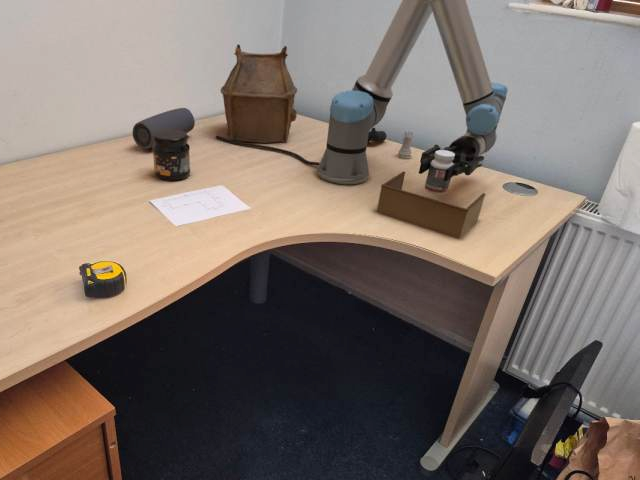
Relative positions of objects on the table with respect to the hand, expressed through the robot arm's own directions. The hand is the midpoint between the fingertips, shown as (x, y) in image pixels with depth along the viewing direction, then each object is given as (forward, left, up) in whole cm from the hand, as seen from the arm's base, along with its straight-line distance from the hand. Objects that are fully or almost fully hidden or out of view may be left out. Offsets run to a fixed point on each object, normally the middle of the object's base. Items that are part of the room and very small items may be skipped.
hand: (433, 171), depth 126 cm
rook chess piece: (-13, +47, -13) cm, 50 cm away
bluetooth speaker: (-89, +20, -13) cm, 92 cm away
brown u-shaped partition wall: (+1, +3, -13) cm, 13 cm away
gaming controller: (-30, +56, -13) cm, 65 cm away
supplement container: (-72, -4, -13) cm, 73 cm away
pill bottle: (+1, +5, -7) cm, 8 cm away
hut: (-65, +44, -13) cm, 79 cm away
